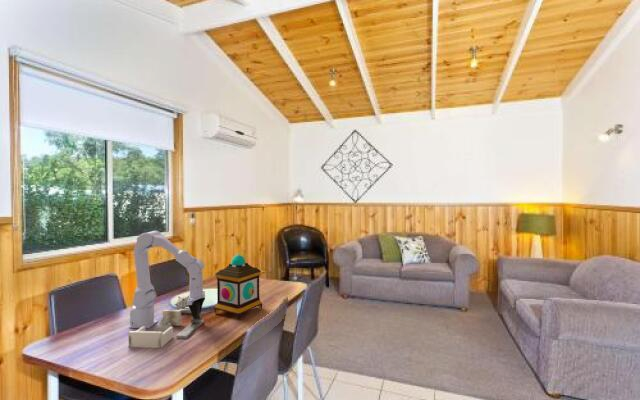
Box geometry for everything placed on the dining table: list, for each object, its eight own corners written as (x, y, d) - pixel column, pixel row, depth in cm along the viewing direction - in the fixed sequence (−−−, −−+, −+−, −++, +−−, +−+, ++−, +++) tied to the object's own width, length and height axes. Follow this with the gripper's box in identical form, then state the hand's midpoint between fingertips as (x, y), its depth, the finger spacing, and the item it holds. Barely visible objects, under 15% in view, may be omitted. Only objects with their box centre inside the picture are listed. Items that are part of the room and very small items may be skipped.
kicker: (162, 325, 145) (162, 306, 145) (167, 322, 149) (167, 303, 149) (198, 325, 144) (198, 307, 144) (202, 322, 148) (201, 304, 148)
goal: (128, 347, 125) (128, 332, 125) (142, 336, 134) (142, 322, 134) (161, 347, 125) (160, 332, 124) (173, 337, 134) (172, 323, 134)
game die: (185, 319, 162) (183, 308, 156) (171, 312, 163) (169, 301, 157) (196, 306, 169) (195, 295, 163) (183, 299, 170) (182, 288, 164)
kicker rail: (176, 338, 133) (176, 335, 133) (194, 322, 150) (194, 319, 150) (186, 338, 132) (186, 335, 132) (203, 322, 149) (203, 319, 149)
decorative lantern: (239, 322, 149) (238, 260, 149) (210, 314, 159) (209, 256, 158) (266, 309, 166) (265, 253, 166) (238, 302, 176) (238, 249, 176)
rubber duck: (162, 335, 135) (162, 317, 135) (154, 332, 139) (154, 314, 139) (174, 331, 140) (174, 313, 139) (166, 327, 143) (166, 310, 143)
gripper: (197, 291, 139) (198, 321, 139) (210, 282, 153) (210, 309, 154) (182, 291, 139) (182, 321, 140) (196, 281, 154) (196, 309, 154)
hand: (196, 315), depth 147 cm, fingers closed on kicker, 3 cm apart
